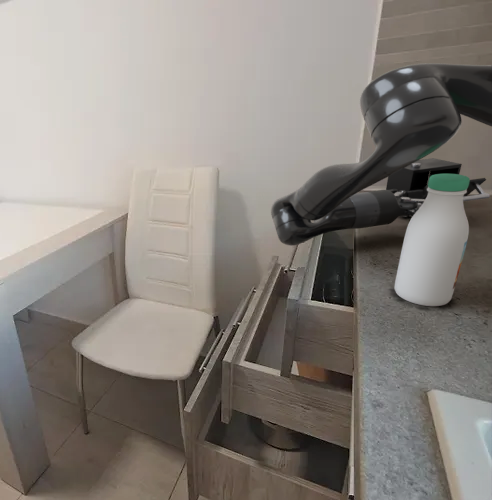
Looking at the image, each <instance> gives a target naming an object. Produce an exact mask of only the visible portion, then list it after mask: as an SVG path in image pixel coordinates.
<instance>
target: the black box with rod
mask: <svg viewBox="0 0 492 500" xmlns="http://www.w3.org/2000/svg"><path fill="white" fill-rule="evenodd" d="M462 166H463V165H462V163H459V162H453V161H449V160H444V159H439V158H434V157H432V158H422V159H420V160H418V161H416V162H414V163H412V164H411V165H409V166H407V167H405V168H403V169H401V170H400V171H398V172H396V173H394V174H392V175H390V176H388V177H387V180H386V181H387V182H386V187H385V190H391V189H397V191H398V192H399V191H402V190H403V191H406V192H407V191H414V190H423V191H424V194H423V196H424V195H425V194H426V193H427V192H428V191H427V188H428V181H429V178H430V177H431V176H432V175H436V174H459V175H460V173H461V169H462ZM402 218H403V219H408V218H410V216H407V217H402Z"/></svg>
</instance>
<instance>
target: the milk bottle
mask: <svg viewBox="0 0 492 500" xmlns="http://www.w3.org/2000/svg"><path fill="white" fill-rule="evenodd" d="M428 179H429V181H428V183H427V184H428V188H427V191H428V195H427V197H426V199H425V201H424V203H423V204H422V206H421V207H420V208H419V209H418V210H417V212H416V213H415V214H414V215H413V216H411V218H410V221H409V222H408V224H407V226H406V230H405V234H404V238H403V243H402V247H401V253H400V255H399V261H398V267H397V271H396V276H395V281H394V287H393V288H394V292H395V293H396V294H397V296H399V297H400V298H401V299H403V300H405V301H407V302H409V303H413V304H415V305H419V306H426V307H439V306H445V305H447V304H448V303H450V301H451V300H452V298H453V295H454V292H455V288H456V285H457V281H458V277H459V274H460V270H461V267H462V263H463V260H464V255H465V252H466V248H467V244H468V240H469V233H470V226H469V221H468V217H467V213H466V211H465V206H464V201H463V196H464V194H465V193H467V191H466V190H467V188H468V186H469V181H470V180H471V179H470V177H469V176H467V175H463V174H460V173H459V174H436V175H432V176H431V177H430V178H428Z"/></svg>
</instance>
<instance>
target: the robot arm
mask: <svg viewBox="0 0 492 500" xmlns="http://www.w3.org/2000/svg"><path fill="white" fill-rule="evenodd" d="M359 106H360V111H361V115H362V118H363V121H364V123H365V126H366V128H367V131H368V133H369V136H370V139H371V141H372V143H373V145H374V147H375V149H374V150H373V152H372V153H371V154H370V155H368V157H367V158H365V160H363V161H360V162H355V163H353V162H352V163H339V164H332V165H331V164H330V165H328V166H325V167H323V168H321V169H320V170H317V171H316V172H315V173H313V175H311V176H310V177H309V178H308V179H307V180H306V181H305V182H304V183H303V184H302V185H301V186H300V187H299V188H298V189H296V190H295V191H293V192H291V193H288V194H287V195H284V196H281V197H279V198H277V199H276V200H274V202H273V203H272V205H271V208H270V215H271V219H272V222H273V225H274V228H275V232H276V235H277V238H278V240H279V242H280V243H282V244H284V245H286V246H291V247H293V246H294V247H295V246H298V245H301V244H304V243H306V242H308V241H309V240H312V239H313V238H314V239H315V238H317V237H318V236H319V237H320V236H321V235H324V234H328V233H331V232H336V231H344V230H357V229H366V228H373V227H379V226H386V225H387V226H388V225H390V224H392V223H393V222H395V221H396V220H397V219H398V218H399V217H401V218H403V217H407V216H409V217H413V215H414V214H415V213H416V212H417V210H418V209H419V208H420V207H419V208H417V206H418V203H421V204H423V203H424V201H425V199H422V198H423V194H424V191H423V190H414V191H407V192H406V191H403V190H402V191H399V192H398V191H397V189H391V190H386V189H378V190H377V189H376V190H372V191H371V190H370V191H365V192H364V190H365V189H367V188H369V187H371V186H373V185H375V184H377V183H379V182H381V181H383V180H384V179H388V176H390V175H392V174H394V173H396V172H398V171H400V170H401V169H403V168H405V167H407V166H409V165H411V164H412V163H414V162H416V161H418V160H423V159H424V158H426V157H427V156H428V155H430V154H432V153H434V152H435V151H437V150H438V149H441V147H443V146H444V145H446V144H447V143H448V142H449V141H451V140H452V139H453V138H454V137H455V136H456V135H457V133H458V132H459V130H460V129H461V127H462V123H463V121H462V116H464V117H467V118H469V119H471V120H474V121H476V122H478V123H481V124H485V125H486V126H489V127H492V64H464V63H463V64H461V63H441V62H440V63H438V62H427V63H425V62H423V63H413V64H409V65H403V66H401V67H397V68H394V69H391V70H389V71H387V72H384V73H383V74H381V75H379V76H377V77H376V78H375V79H373V80H371V81H370V82H369V83H368V84H367V85H366V87H364V89H363V90H362V92H361V95H360V99H359ZM361 191H363V192H361ZM312 221H313V222H312Z"/></svg>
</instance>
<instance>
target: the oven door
mask: <svg viewBox="0 0 492 500" xmlns="http://www.w3.org/2000/svg"><path fill="white" fill-rule="evenodd" d="M486 181H487V179H486V177H481V178H473V179H470V181H469V186H468V188H467V190H466V191H467V193H465V194H464V196H463V202H470V201H478V200H484V199H485V200H486V199H489V198H490V196H491V194H490V193H488V192H485V190H484V189H483V188H482V186H481V185H482V184H483V183H485V182H486ZM474 191H476V192H477V193H478V194H477V193H476V194H471V193H473V192H474ZM470 194H471V195H470ZM427 195H428V192H427V193H426V194H425V195H424V196H423V198H422V199H426V197H427ZM421 206H422V204H421V203H418V206H417V208H419V207H421Z"/></svg>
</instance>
